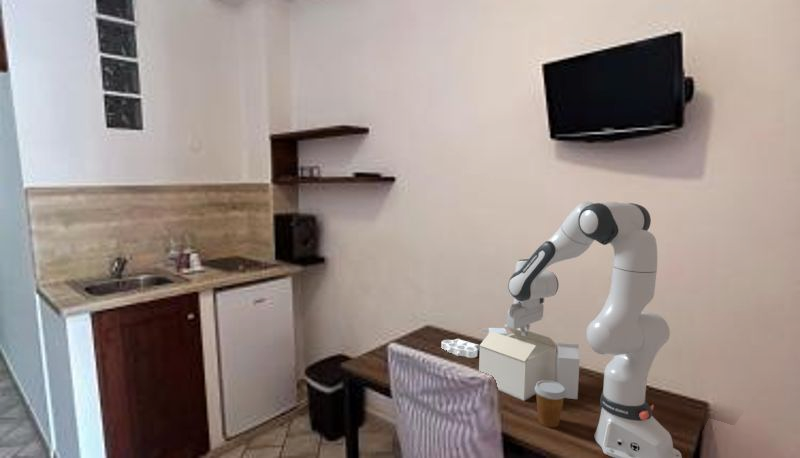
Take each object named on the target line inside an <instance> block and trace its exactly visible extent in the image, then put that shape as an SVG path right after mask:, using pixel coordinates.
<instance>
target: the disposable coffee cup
mask: <svg viewBox="0 0 800 458" xmlns="http://www.w3.org/2000/svg"><path fill="white" fill-rule="evenodd" d="M535 392H536V394H535V396H536V398H535V399H536V407H537V409H536V410H537V421H538V423H539V424H540V425H542V426H544V427H547V428H556V427H558V426H559V424H560V421H561V415H562V409H563V405H564V399H565V398H564V397H565V395H566V391H565V388H564V386H562V385H561V384H559V383H557V382H553V381H539V382H538V383H537V384H536V386H535Z"/></svg>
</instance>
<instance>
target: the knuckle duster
mask: <svg viewBox="0 0 800 458" xmlns="http://www.w3.org/2000/svg"><path fill="white" fill-rule="evenodd" d="M440 348H442V349H444V351H446V350H447V352H446V353H448V352H449V354H450V353H452V355H454V356H457V357H458V356H459V357H466V358H469V359H474V358H476V357H478V352H479V351H480V344H477V343H473V342H471V341H469V340H467V341H466V340H464V339H460V338H456V339H444V340H442V341H441V347H440ZM442 349H441V350H442Z"/></svg>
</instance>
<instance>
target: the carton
mask: <svg viewBox="0 0 800 458" xmlns="http://www.w3.org/2000/svg"><path fill="white" fill-rule="evenodd" d="M507 336H508V337H511V338H514V339H517V340H520V341H524V342H527V343H530V344H533V345H536V348H535V349H534V351H533V352H532V354H531V355H530V357H529V358H528V359H527V361H526V362H522V361H519V360H517V359H514V358H511V357H508V356H505V355H503V354H500V353H497V352H494V351H491V350H488V349H486V348H483V347H480V349H479V351H478V353H479V354H478V355H479V356H478V357H479V358H478V360H479V362H478V372H479V371H481V372H484V373H487V374H489V375H492V376H493V377H494V379H495V380H496V383H497V387H498V391H500V392H502V393H505V394H507V395H509V396H511V397H514V398H516V399H519V400H521V401H523V402H525V401H526V400H528V399H530V398H533V396H536V392H535V386H536V384H537V383H538V382H539V381H553V382H554V375H555V355H556V348H557V347H555V346H552V345H549V344H545V343H542V342H539V341H536V340H532V339H529V338H526V337H523V336H519V335H516V334H513V333H512V334H511V333H510V334H507Z"/></svg>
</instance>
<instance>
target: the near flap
mask: <svg viewBox="0 0 800 458" xmlns="http://www.w3.org/2000/svg"><path fill="white" fill-rule="evenodd" d="M479 345H480V347H483V348H486V349H488V350H491V351H494V352H497V353H500V354H503V355H505V356H508V357H511V358H514V359H517V360H519V361H522V362H526V361H527V359H528V358H529V357H530V355H531V354H532V352H533V351H534V349H535V348H536V345H533V344H530V343H527V342H524V341H520V340H517V339H514V338H511V337H508V335H507V336H505V335H501V334H498V333H495V332H492V331H491V332H490V333H489V334H487V335H486V337H484V339H483V340H482V342H481V343H480V344H479Z"/></svg>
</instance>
